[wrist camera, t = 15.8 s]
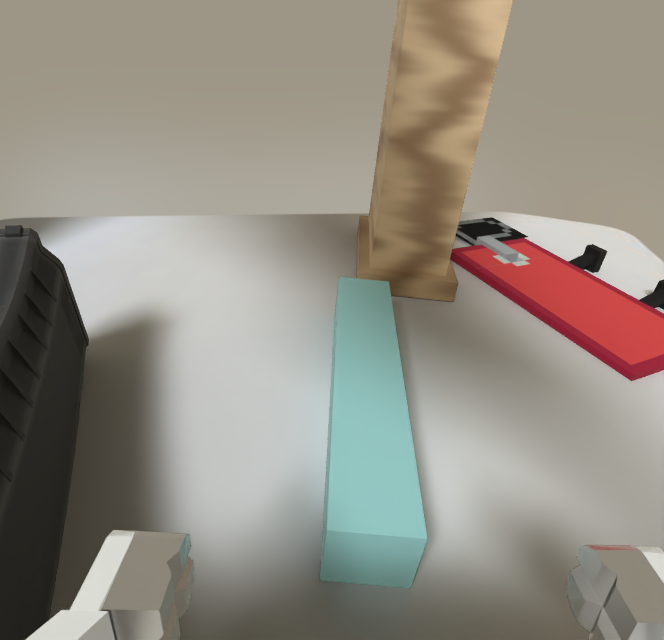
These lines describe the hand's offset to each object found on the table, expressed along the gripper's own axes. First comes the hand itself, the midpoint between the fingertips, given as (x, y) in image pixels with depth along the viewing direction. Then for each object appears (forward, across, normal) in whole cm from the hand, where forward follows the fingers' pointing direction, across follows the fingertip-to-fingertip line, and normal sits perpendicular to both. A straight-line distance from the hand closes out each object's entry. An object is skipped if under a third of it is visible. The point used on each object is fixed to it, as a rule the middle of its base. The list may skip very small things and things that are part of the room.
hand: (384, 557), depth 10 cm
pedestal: (+40, -7, +6) cm, 41 cm away
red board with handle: (+39, -22, +8) cm, 46 cm away
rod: (+18, -1, +9) cm, 20 cm away
